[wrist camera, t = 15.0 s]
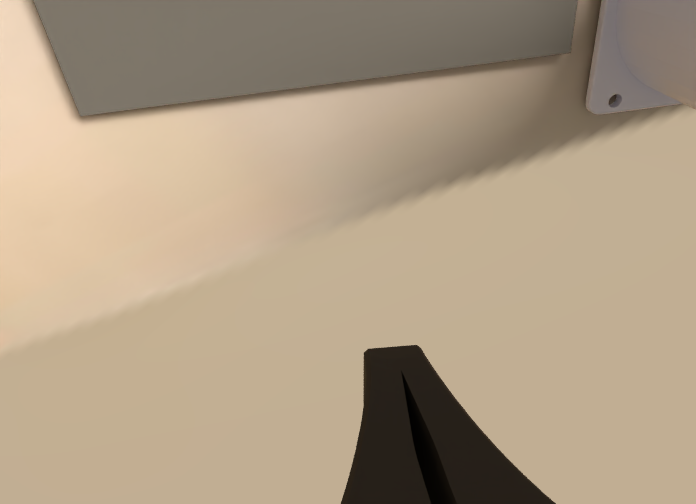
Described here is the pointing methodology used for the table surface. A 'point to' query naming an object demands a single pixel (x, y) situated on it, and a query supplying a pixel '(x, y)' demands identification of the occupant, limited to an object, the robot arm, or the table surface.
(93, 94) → the mat
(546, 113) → the table surface
